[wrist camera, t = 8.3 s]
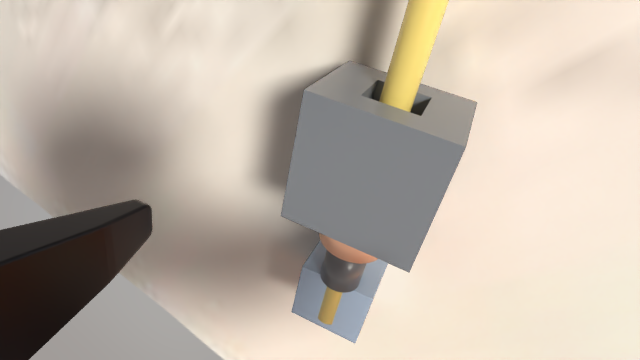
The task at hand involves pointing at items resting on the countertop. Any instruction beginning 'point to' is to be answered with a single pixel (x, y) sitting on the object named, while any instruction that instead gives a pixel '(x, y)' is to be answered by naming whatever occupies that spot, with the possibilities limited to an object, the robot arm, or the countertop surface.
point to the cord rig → (340, 259)
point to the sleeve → (373, 162)
